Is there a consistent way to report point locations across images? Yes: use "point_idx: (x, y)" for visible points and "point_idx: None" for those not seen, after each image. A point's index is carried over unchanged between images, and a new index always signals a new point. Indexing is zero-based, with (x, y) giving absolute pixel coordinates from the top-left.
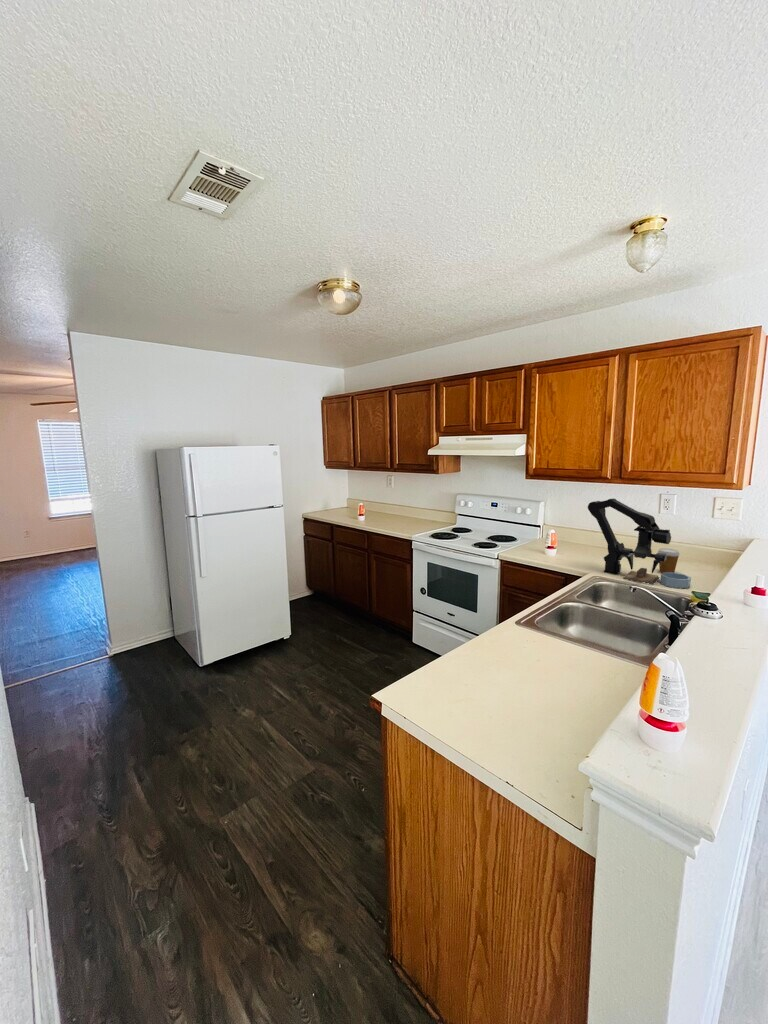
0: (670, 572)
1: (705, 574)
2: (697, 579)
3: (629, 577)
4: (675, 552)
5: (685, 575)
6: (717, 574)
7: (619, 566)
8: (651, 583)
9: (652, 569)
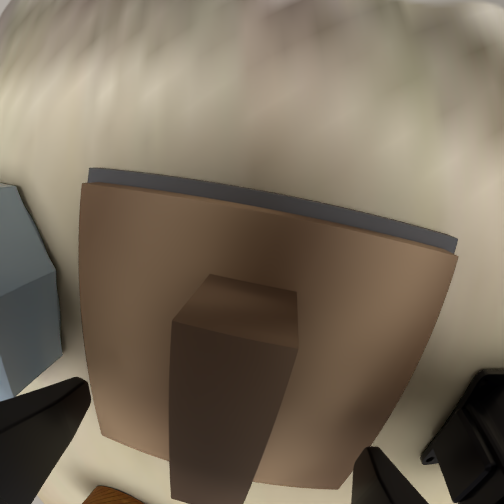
0: (96, 493)
1: None
2: None
3: (395, 238)
4: None
5: None
6: None
7: (484, 458)
8: (109, 169)
9: (39, 403)
